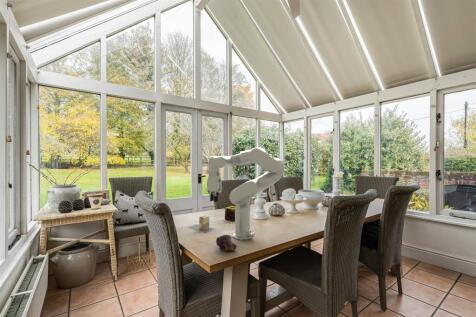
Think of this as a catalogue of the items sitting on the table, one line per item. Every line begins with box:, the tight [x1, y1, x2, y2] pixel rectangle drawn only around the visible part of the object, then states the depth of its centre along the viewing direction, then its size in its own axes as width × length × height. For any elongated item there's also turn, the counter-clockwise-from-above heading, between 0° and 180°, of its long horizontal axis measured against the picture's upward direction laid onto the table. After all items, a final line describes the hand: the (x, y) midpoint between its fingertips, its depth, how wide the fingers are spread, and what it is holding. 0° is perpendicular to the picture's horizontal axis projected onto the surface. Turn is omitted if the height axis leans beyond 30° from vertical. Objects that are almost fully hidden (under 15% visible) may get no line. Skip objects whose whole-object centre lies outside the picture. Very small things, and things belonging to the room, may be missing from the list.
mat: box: [186, 224, 216, 233], centre depth 160 cm, size 19×10×1 cm, turn 55°
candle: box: [224, 205, 236, 222], centre depth 186 cm, size 10×10×10 cm
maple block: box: [198, 214, 210, 231], centre depth 158 cm, size 5×5×9 cm
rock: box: [215, 234, 237, 252], centre depth 123 cm, size 12×9×10 cm
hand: (213, 201), depth 153 cm, fingers open, 3 cm apart
